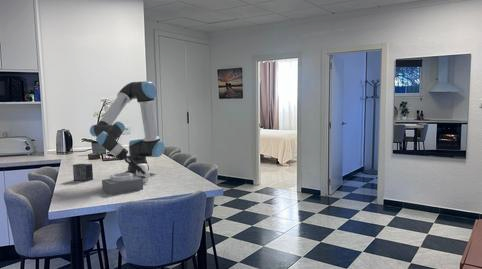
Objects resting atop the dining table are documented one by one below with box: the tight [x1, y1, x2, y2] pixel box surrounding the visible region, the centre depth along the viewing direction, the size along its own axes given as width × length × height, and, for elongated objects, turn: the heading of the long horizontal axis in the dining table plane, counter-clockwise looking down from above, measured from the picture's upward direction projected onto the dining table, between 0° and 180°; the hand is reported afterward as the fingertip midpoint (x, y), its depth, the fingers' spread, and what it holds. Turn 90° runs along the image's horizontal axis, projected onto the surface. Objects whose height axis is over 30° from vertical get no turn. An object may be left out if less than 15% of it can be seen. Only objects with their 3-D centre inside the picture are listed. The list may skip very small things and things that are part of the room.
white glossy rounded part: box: [135, 163, 149, 184], centre depth 215 cm, size 7×7×11 cm
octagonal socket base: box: [101, 172, 144, 196], centre depth 196 cm, size 18×14×8 cm
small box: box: [72, 163, 94, 182], centre depth 225 cm, size 11×6×10 cm, turn 74°
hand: (148, 175), depth 217 cm, fingers closed on white glossy rounded part, 7 cm apart
